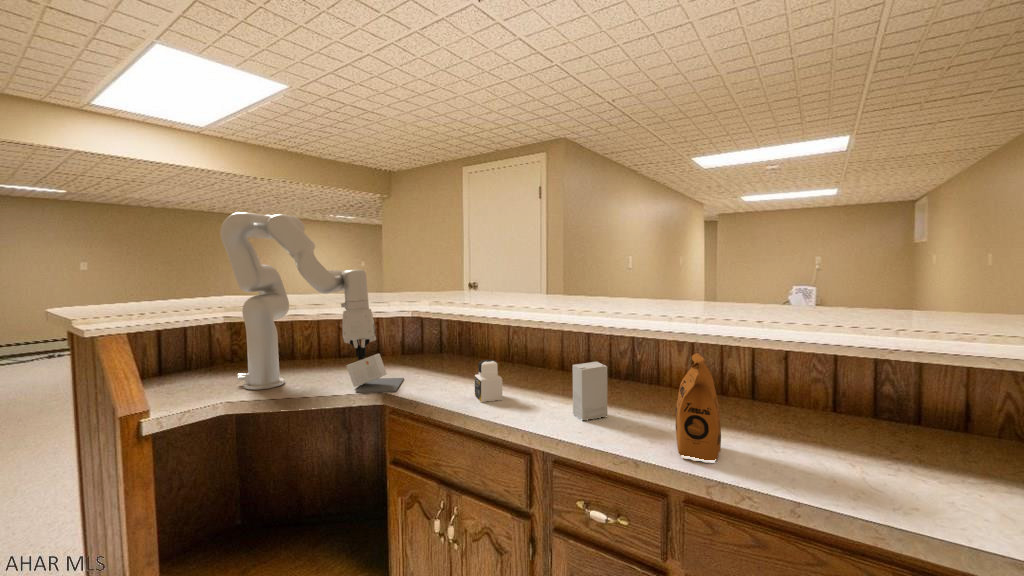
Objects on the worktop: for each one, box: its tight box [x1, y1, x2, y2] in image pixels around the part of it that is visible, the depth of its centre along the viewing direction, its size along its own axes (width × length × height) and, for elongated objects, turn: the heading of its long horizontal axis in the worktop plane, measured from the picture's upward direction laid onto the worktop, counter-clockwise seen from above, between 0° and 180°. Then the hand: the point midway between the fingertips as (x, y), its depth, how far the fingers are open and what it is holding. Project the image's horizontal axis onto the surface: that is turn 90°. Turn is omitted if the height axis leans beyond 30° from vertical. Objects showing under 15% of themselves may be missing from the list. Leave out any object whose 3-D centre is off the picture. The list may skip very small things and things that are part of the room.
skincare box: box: [572, 361, 608, 421], centre depth 130 cm, size 8×6×15 cm
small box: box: [345, 353, 388, 388], centre depth 161 cm, size 8×6×10 cm
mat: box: [355, 377, 405, 394], centre depth 162 cm, size 13×16×1 cm
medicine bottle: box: [474, 359, 503, 403], centre depth 147 cm, size 7×7×12 cm
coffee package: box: [674, 352, 722, 460], centre depth 106 cm, size 10×12×22 cm
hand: (361, 358), depth 161 cm, fingers closed
